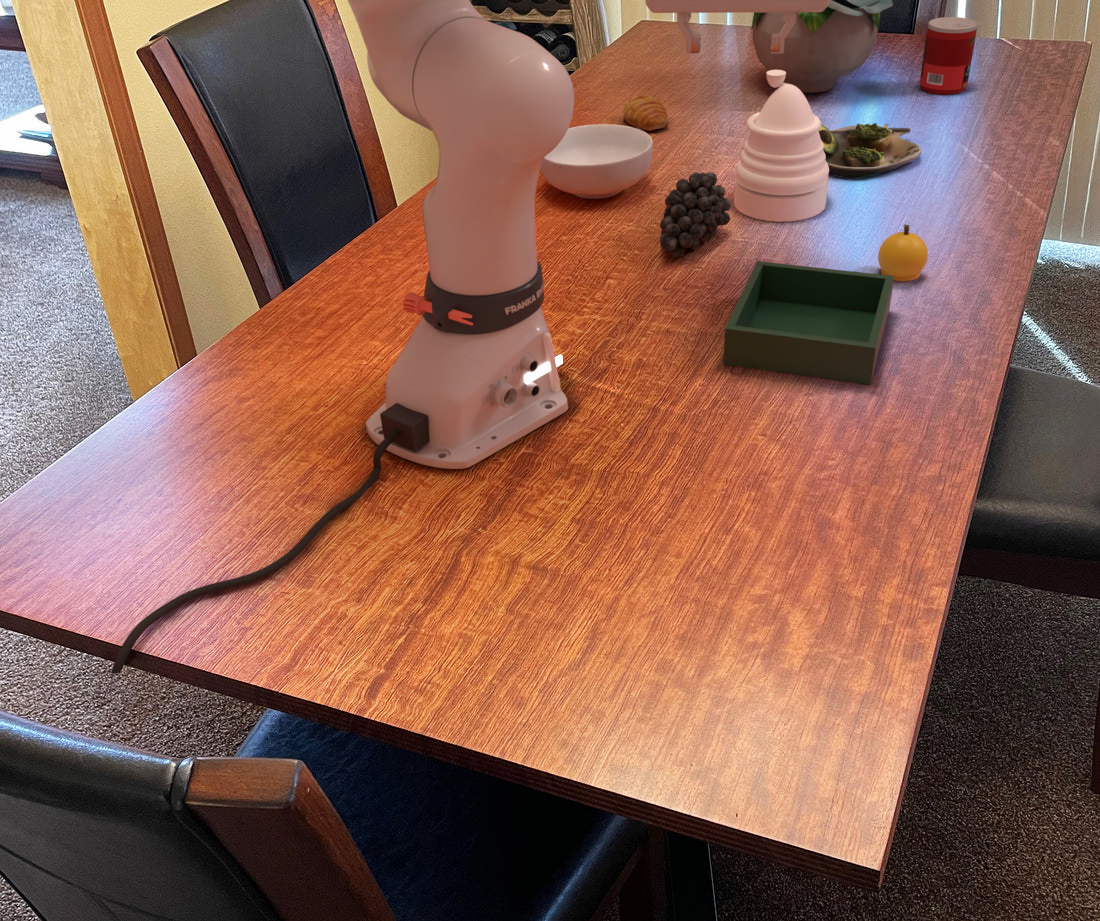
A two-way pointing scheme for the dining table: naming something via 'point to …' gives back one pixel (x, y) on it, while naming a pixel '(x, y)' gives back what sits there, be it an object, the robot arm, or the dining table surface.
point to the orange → (903, 255)
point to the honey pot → (782, 159)
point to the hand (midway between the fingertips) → (734, 52)
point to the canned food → (947, 55)
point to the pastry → (645, 113)
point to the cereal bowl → (598, 160)
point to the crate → (809, 322)
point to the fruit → (693, 213)
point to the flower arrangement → (820, 42)
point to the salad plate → (866, 149)
